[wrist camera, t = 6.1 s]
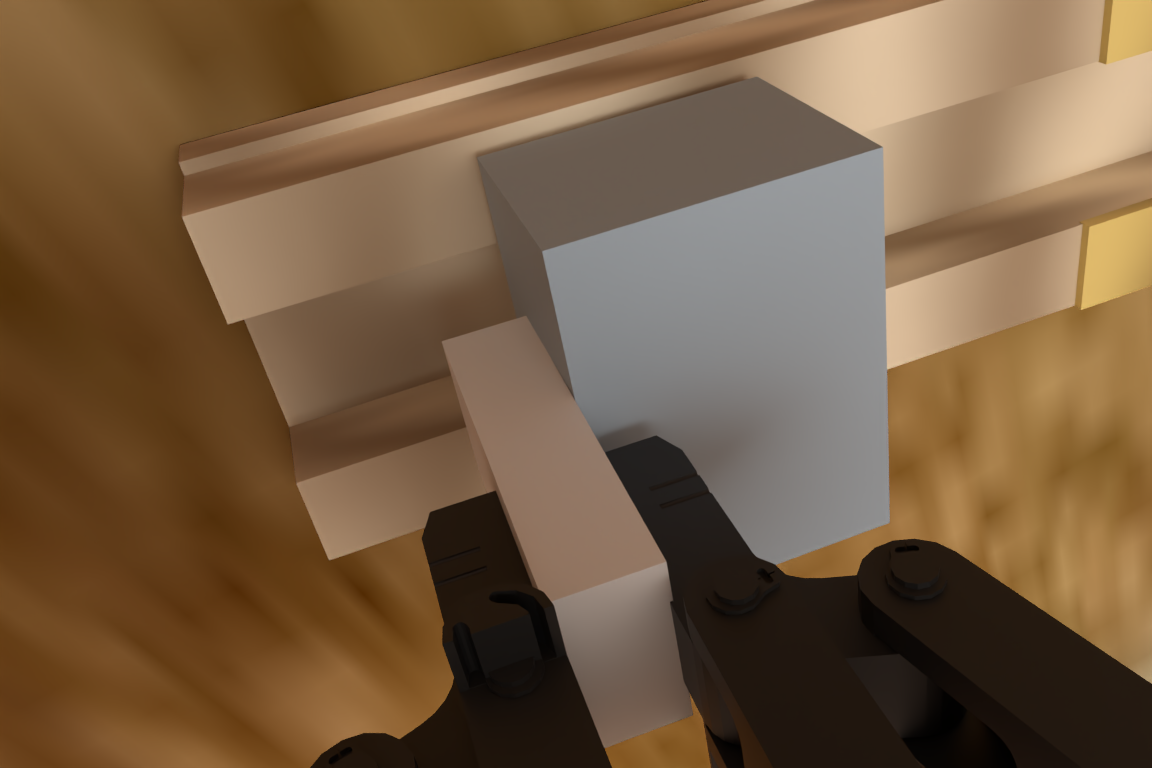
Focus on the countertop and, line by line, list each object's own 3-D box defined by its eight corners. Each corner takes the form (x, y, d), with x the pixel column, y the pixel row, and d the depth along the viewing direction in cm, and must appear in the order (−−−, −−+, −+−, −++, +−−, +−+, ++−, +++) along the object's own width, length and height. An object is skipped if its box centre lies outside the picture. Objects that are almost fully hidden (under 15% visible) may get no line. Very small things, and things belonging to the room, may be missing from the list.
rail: (319, 483, 23) (338, 602, 20) (179, 144, 19) (174, 225, 15) (1418, 120, 28) (1582, 168, 24) (1514, -221, 23) (1729, -219, 20)
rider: (532, 432, 22) (624, 620, 17) (452, 122, 18) (541, 251, 14) (744, 361, 23) (889, 522, 18) (709, 50, 19) (883, 146, 14)
